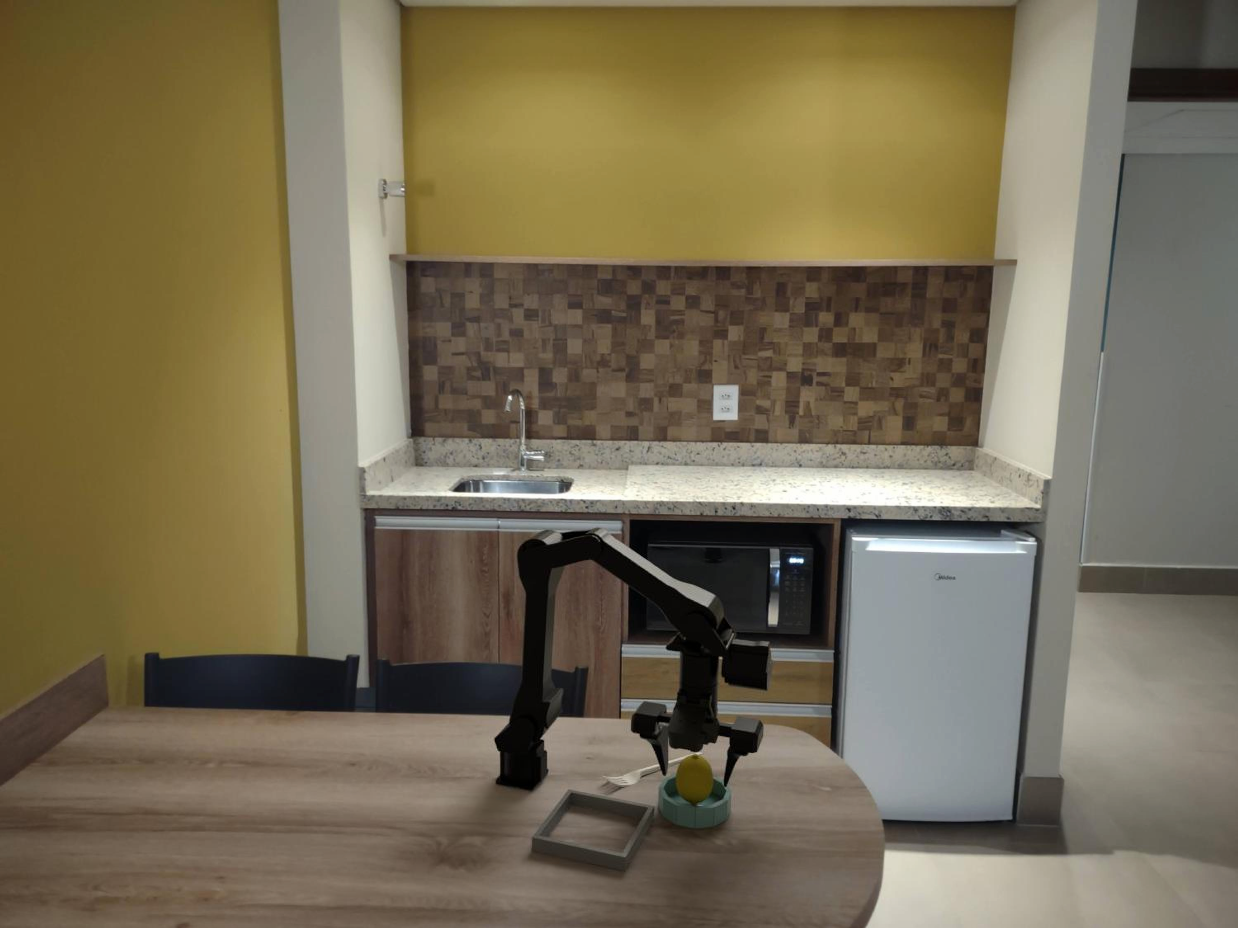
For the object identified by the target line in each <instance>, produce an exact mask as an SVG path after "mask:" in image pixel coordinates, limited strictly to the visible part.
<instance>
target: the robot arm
mask: <svg viewBox="0 0 1238 928" xmlns="http://www.w3.org/2000/svg"><path fill="white" fill-rule="evenodd" d="M589 560H590V561H592V562H594V563H595V564H597V565H598V566H600V567H601V568H602V569H604V570H606V571H607V572H609V573H610V574H611V575H613V576H614V578H617V579H618V580H620V581H621V582H623V583H624V584H625V585H627V586H628V587H630V588H631V589H633V590H634V591H635V592H637V593H638V594H640V595H641V596H643V597H644V598H646V599H647V600H648V601H650V602H651V603H653V604H654V605H655V606H656V607H657V608H658V609H659V610H660V612H661V613H662V614H663V615H664V617H665V619H666V620H667V622H668V623H669V624H670V625H671V626H672V627H673V628H674V629H675V630H676V631H677V634H676V635H675V636H673V637H672V638H670V640H669V641H668V642H667V644H666V645H665V649H666V650H667V651H670V652H678V653H679V666H678V668H679V669H678V671H679V672H678V690H677V692H676V693H677V695H676V702H675V704H674V706H673V709H672V713H668V712H667V711H668V707H667V705H666V704H664V703H659V702H654V701H653V702H652V701H645V700H644V701H643V702H642V703H640V704H639V705H638V707H637V708H636V710H635V711H634V712H633V713H632V716H631V719H630V732H631V733H633V734H638V735H639V738H640V739H642V740H645V741H647V742H648V743H649V744H650V746H651V747H652V749H653V752H654V754H655V756H656V760H657V762H658V764H659V766H660V769H661V770H660V771H661V773H662V776H663V777H665V776H667V774H668V769H669V767H668V761H669V747H670V748H671V749H675V750H679V749H680V750H684V751H685V750H686V751H689V752H691V753H698V752H701V751H702V750H703V748H704V745H706V746H708V745H709V744H716V743H717V741H718V737H721V738H722V737H723V738H729V739H728V740H729V742H728V744H729V746H728V748H727V750H726V762H725V769H724V774H723V781H724V787H727V785H728V784H729V782H730V779H731V776H732V773H733V772H734V769H735V767H736V764H737V762H738V760H739V759H740V758H741V757H748V755H749V754H755V753H758V750H759V748H760V745H761V743H762V741H763V738H764V729H765V726H764V723H763V722H762V721H761V719H758V718H752V717H746V716H740V715H737V716H736V717H735V720H734V722H733V723H728V722H722V721H719V719H718V713H719V712H718V710H719V708H718V704H719V703H718V701H719V700H718V699H719V688H720V687H719V685H720V681H719V678H720V677H719V675H720V674H721V678H723V679H724V680H723V681H724V684H727V685H728V686H729V687H735V688H741V689H742V688H743V689H751V690H756V691H763V692H769V690H770V686H771V680H772V676H773V659H772V651H771V642H770V641H764V640H758V641H752V640H746V639H738V638H736V637H737V632H736V631H735V629H734V628H733V626H732V624H731V623H730V622H729V620H728V619H727V616H726V615H725V614H724V611H725V610H724V607H723V606H724V605H723V603H722V602H723V601H721V599H720V598H719V597H718V596H717V595H715V594H714V593H712V592H710V591H707V590H706V589H704V588H701V587H699V586H697V585H695V584H691V583H687V582H684V581H680V580H678V579H676V578H673V577H672V576H670V575H669V574H668V573H666V572H665V571H663V570H662V569H660V568H659V567H657V566H656V565H654V564H653V563H652V562H651V561H649V560H647V559H646V558H644V557H643V556H641V555H640V554H639V553H637V552H636V551H634V550H633V549H632V548H630V547H629V546H628V545H626V544H624V543H623V542H621V541H620V540H619V539H617V538H615V537H614V536H612V534H611V533H610V532H609V531H608V530H607V529H605V528H603V527H593V528H591V529H582V530H580V529H579V530H570V531H569V530H568V531H563V532H558V531H557V530H554V529H543V530H541V531H539V532H538V533H536V534H535V535H533V536H531V537H529V538H528V539H526V540H525V541H523V542H522V543H521V544H520V546H519V547H518V549H517V552H516V563H517V571H518V577H519V580H520V583H521V585H522V588H523V590H524V594H525V598H524V599H525V600H524V604H525V605H524V616H523V617H524V622H523V623H524V624H523V637H522V639H523V640H522V659H521V661H522V662H521V681H520V684H519V686H518V688H517V692H516V694H515V697H514V700H513V702H512V705H511V711H510V713H509V714H510V715H509V719H508V723H507V724H506V725H505V726H504V727H503V728H502V729H501V730H500V732H499V733H498V734H497V735H496V736H494V738H493V740H494V741H493V742H494V744H495V746H496V749H497V751H498V752H499V775H498V777H496V779H495V780H494V781H495V782H494V783H495V785H501V786H505V787H510V788H514V789H515V788H516V789H521V790H525V791H530V792H531V791H534V790H535V789H536V788H537V787H538V785H540V783H541V782H542V781H543V780H544V778H546V777H547V775H548V773H549V768H548V751H547V750H546V749H545V739H542V738H543V736H544V735H545V734H546V733H547V732H548V730H549V729H550V728H551V727H552V726H553V724H554V723H555V722H556V721H557V719H558V717H559V716H560V715H561V714H562V712H564V709H563V706H562V699H563V698H562V697H563V694H564V688H562V687H555V684H554V682H553V679H552V666H553V665H552V664H553V646H554V630H555V629H554V627H555V612H556V597H557V596H556V593H557V589H558V586H559V584H560V582H561V578H562V576H563V573H564V571H565V567H566V566H569V565H573V564H578V563H580V562H585V561H589ZM720 658H721V669H720ZM720 670H721V672H720ZM728 786H729V785H728Z"/></svg>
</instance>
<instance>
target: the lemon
mask: <svg viewBox="0 0 1238 928" xmlns="http://www.w3.org/2000/svg"><path fill="white" fill-rule="evenodd" d="M692 754H693V755H691V754H689V755H690V756H688V755H686V756H687V757H686V758H684V759H683V760H682V761H681V762H680V763H678V767H677V769H676V772H675V773H676V787H677V790H678V793H679V795H680V796H681V797H682V798H683V799H684V800H685V801H687V802H689V803H691V804H692V805H696V804H697V803H701V802H703V801H704V800H706V799H707V798H708V797H709V795H710V793H711V791H712V788H713V775H714V774H713V773H714V772H713V769H712V766H711V765H710V762H709V761H708V760H707V759H706V758H705V757H703V756H701V755H697V754H695V753H692Z"/></svg>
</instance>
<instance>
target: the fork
mask: <svg viewBox="0 0 1238 928" xmlns="http://www.w3.org/2000/svg"><path fill="white" fill-rule="evenodd" d="M693 754H697V755H699V756H701V755H703V754H704V753H703V752H701V751H699V752H694V753H692V754H688V755H684V756H681V757H677V758H674V759H671V760H668V768H669V767H672V766H675V765H676V764H680V763H681V761H682V760H683V759H684V758H686V757H687V756H690V755H693ZM658 771H661V769H660V766H659V763H658V764H654V765H650V766H647V767H642V768H640V769H637V770H634V771H631V772H627V773H626V774H624V775H623V776H621V775H620V776H614V777H613V776H612V777H611V776H610V777H609V776H606V775H605V776H604V775H601V777H602V778H603V779H605V780H606V781H608V782H609V783H610V784H612V785H615V786H618V787H621V788H627V787H629V786H632V785H634V784H637V783H639V782H640V780H641V778H642V776H646V775H649V774H651V773H654V772H655V773H656V772H658Z"/></svg>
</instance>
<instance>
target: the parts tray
mask: <svg viewBox="0 0 1238 928" xmlns="http://www.w3.org/2000/svg"><path fill="white" fill-rule="evenodd" d="M571 806H575V807H580V808H585V809H590V810H591V809H592V810H596V811H600V812H605V813H610V814H616V815H619V816H624V817H630V818H635V819H640V821H639V823H638V825H637V826H636V829H635V830H634V832H633V834H632V836H631V838H630V839H629V841H628V842H627V844H626V846H625V848H624V850H623V852H617V851H614V850H613V851H612V850H607V849H603V848H598V847H594V846H590V845H586V844H580V843H575V842H572V841H565V840H561V839H557V838H553V837H549V835H550V834H551V833H552V832H553V830H554V828H556V826H557V825H558V824H559V822H560V821H559V820H561V819H562V817H564V815H565V814H566V812H567V811H568V810H569V809H570V807H571ZM567 809H568V810H567ZM564 813H565V814H564ZM654 820H655V805H650V804H646V803H641V802H638V801H637V802H635V801H631V800H625V799H621V798H616V797H611V796H605V795H601V794H600V795H599V794H594V793H590V792H585V791H580V790H574V789H567V790H566V792H565V793H564V795H563V796H562V797H561V798H560V800H559V801H558V803H557V804H556V805H555V807H553V809H552V810H551V812H549V815H547V816H546V818H545V820H544V821H543V822H542V824H541V825H540V826H539V827H538V829H537V830H536V831H535V833H534V834H533V835H532V837H531V851H532V852H537V853H541V854H544V855H545V854H546V855H551V856H555V857H560V858H564V859H568V860H573V861H577V862H583V863H587V864H592V865H595V866H600V867H604V868H609V869H613V870H614V869H615V870H617V871H618V870H619V871H622V872H626V871H627V869H628V867H629V865H630V864H631V862H632V859H633V857H634V856H635V854H636V852H637V851H638V848H639V847H640V845H641V843H642V842H643V840H644V838H645V836H646V834H647V832H648V831H649V829H650V827H651V825H652V823H653V822H654ZM558 821H559V822H558ZM556 824H557V825H556ZM555 825H556V826H555Z"/></svg>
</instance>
